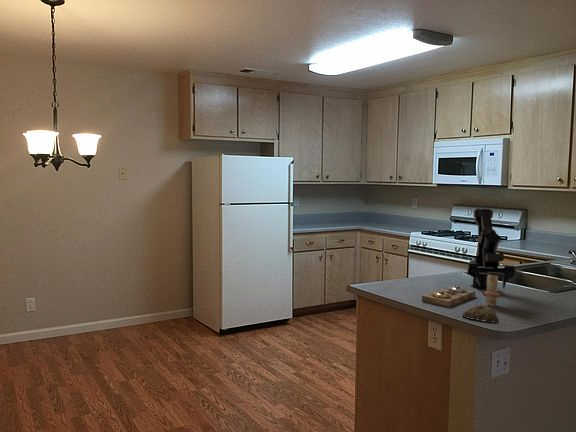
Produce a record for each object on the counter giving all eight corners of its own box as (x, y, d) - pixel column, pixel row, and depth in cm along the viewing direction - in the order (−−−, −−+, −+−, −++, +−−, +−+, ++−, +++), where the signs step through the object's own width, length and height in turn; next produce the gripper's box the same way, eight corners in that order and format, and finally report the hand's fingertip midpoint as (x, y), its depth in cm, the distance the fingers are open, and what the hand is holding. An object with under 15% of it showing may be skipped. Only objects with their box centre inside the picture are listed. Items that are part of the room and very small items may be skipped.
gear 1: (437, 292, 218) (437, 288, 218) (454, 296, 213) (454, 291, 213) (428, 295, 213) (428, 291, 213) (445, 299, 207) (446, 294, 207)
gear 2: (452, 287, 229) (453, 283, 229) (469, 290, 224) (469, 286, 224) (444, 290, 224) (444, 285, 223) (461, 293, 218) (462, 289, 218)
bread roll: (495, 324, 184) (496, 311, 183) (460, 319, 190) (461, 306, 189) (499, 316, 195) (500, 304, 195) (466, 311, 201) (467, 299, 201)
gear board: (449, 291, 232) (450, 286, 232) (475, 296, 224) (475, 291, 224) (421, 301, 213) (422, 295, 213) (448, 307, 205) (448, 301, 205)
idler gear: (491, 302, 215) (493, 273, 214) (504, 306, 208) (506, 277, 207) (477, 303, 212) (479, 274, 211) (490, 307, 206) (492, 278, 205)
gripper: (469, 244, 215) (471, 274, 206) (516, 247, 211) (520, 278, 201) (466, 259, 224) (467, 289, 214) (511, 262, 219) (514, 292, 210)
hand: (492, 287), depth 210 cm, fingers open, 9 cm apart
